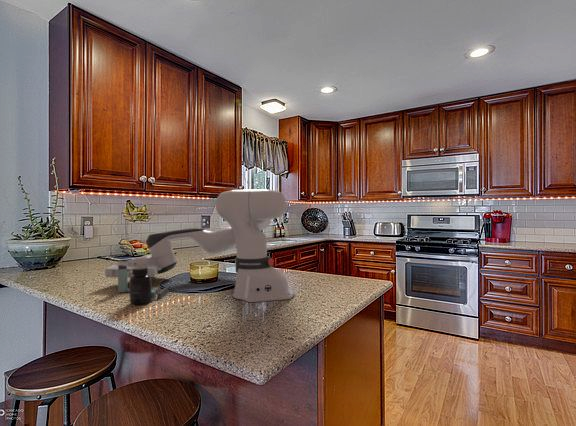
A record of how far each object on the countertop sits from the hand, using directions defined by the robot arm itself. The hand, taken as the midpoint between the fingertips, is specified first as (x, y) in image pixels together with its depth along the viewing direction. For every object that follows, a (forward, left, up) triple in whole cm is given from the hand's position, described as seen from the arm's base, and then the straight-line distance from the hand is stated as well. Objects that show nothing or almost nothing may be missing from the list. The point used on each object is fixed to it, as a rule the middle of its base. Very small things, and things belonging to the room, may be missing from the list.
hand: (123, 275), depth 127 cm
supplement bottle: (-13, +16, -6) cm, 22 cm away
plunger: (-8, +6, -6) cm, 12 cm away
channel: (-13, +8, -6) cm, 17 cm away
